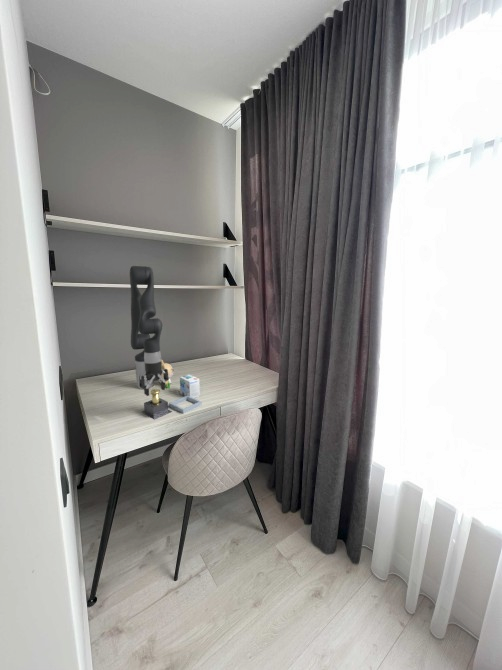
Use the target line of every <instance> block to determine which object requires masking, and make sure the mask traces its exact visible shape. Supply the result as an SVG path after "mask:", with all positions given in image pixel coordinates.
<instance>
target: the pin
mask: <svg viewBox="0 0 502 670" xmlns="http://www.w3.org/2000/svg"><path fill="white" fill-rule="evenodd" d="M160 393H161V392H160V389H159V388H155V389H151V390H150V395H151V400H152V403H153V405H156V404H159V398H160Z"/></svg>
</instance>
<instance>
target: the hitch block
mask: <svg viewBox="0 0 502 670" xmlns="http://www.w3.org/2000/svg"><path fill="white" fill-rule="evenodd" d="M143 406H144V407H143V408H144V410H143V411H142V410H141V413H142V414H143V415H145V416H147V417H149V418H150V419H152V420H154V421H155V420H158V419H159V418H162V417H164V416H166V415H168V414H171V413H173V411H172V410H170V409H169V401H167V400H165V399H162V398H161V397H159V404H156V405H153V403H152V399H151V400H147V401H145V402H143Z"/></svg>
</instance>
